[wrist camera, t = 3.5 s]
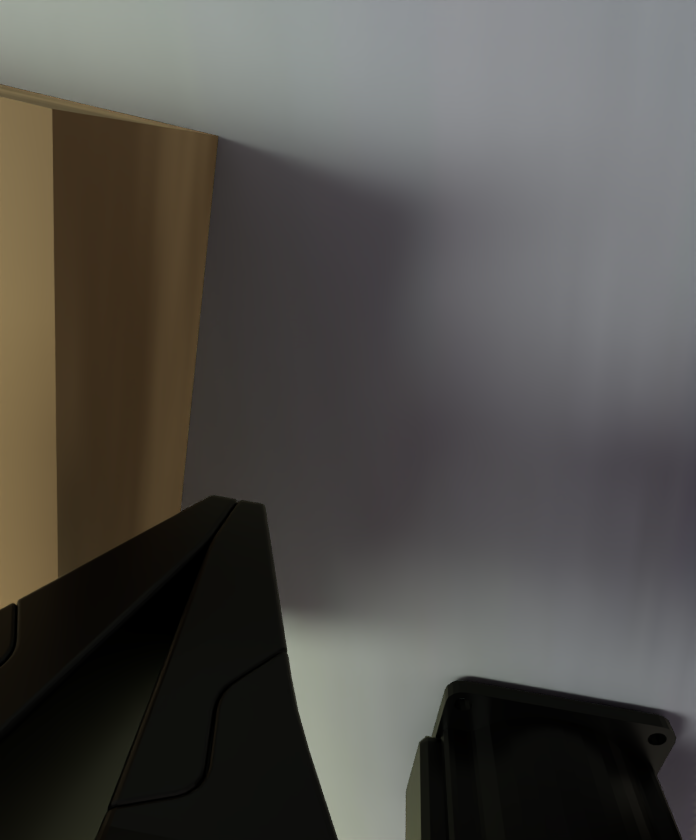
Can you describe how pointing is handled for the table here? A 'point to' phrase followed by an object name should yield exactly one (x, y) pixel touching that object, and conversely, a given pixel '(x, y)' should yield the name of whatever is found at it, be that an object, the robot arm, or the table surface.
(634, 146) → the table surface
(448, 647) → the table surface
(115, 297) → the tan wooden block
